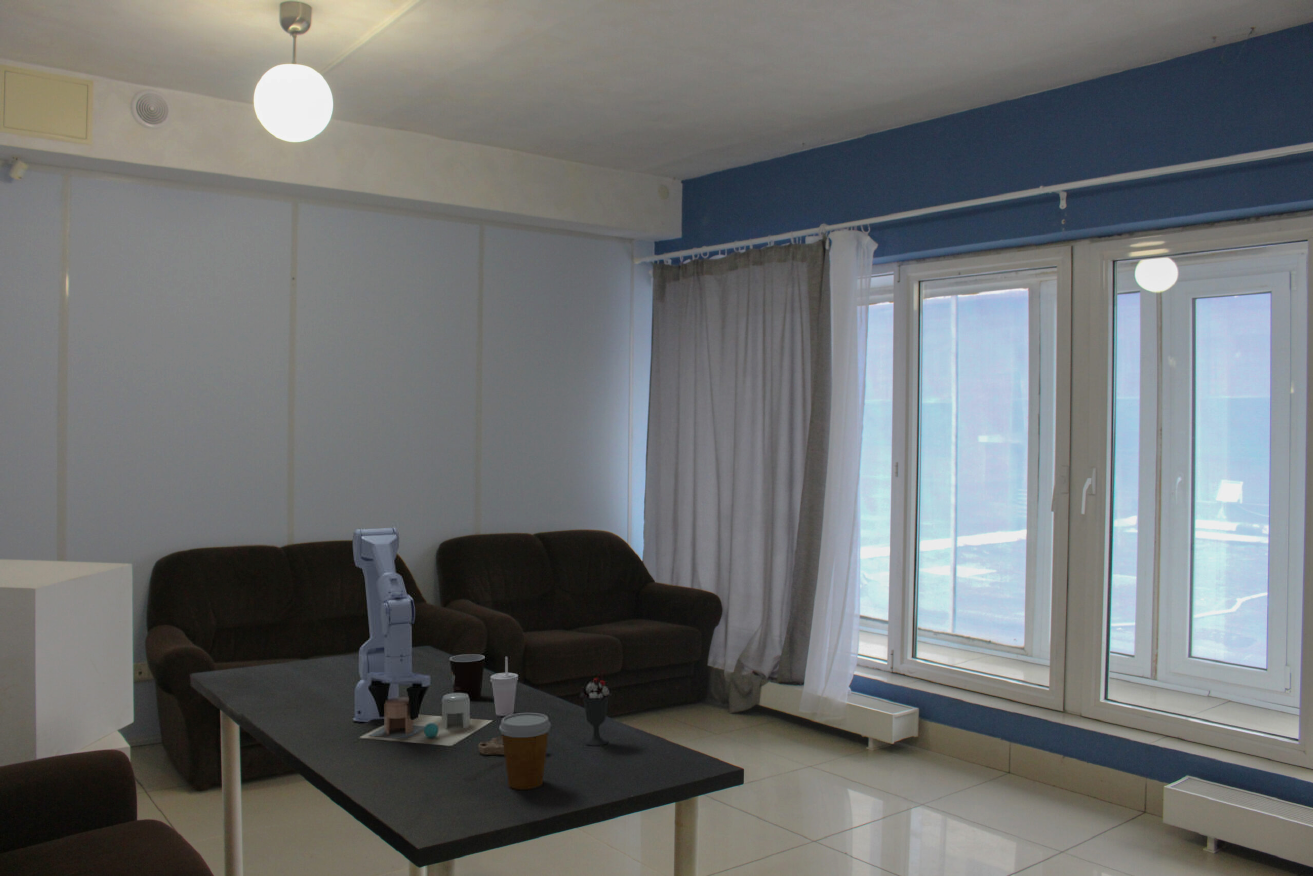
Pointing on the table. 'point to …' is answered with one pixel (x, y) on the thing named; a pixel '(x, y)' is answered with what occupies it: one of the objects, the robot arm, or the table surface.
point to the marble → (431, 730)
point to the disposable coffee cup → (525, 748)
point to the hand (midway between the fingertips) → (398, 717)
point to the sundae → (596, 708)
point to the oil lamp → (492, 747)
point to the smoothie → (504, 691)
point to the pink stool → (397, 714)
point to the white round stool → (456, 709)
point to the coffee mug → (467, 674)
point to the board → (443, 736)
